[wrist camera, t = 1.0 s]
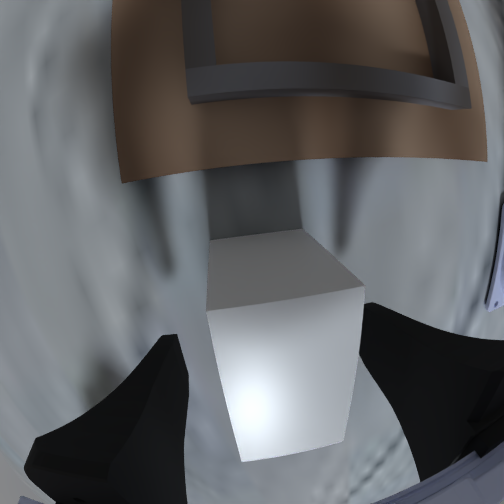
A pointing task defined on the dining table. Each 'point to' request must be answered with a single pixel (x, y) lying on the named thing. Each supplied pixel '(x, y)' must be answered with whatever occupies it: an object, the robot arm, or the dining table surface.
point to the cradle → (291, 82)
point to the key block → (283, 340)
